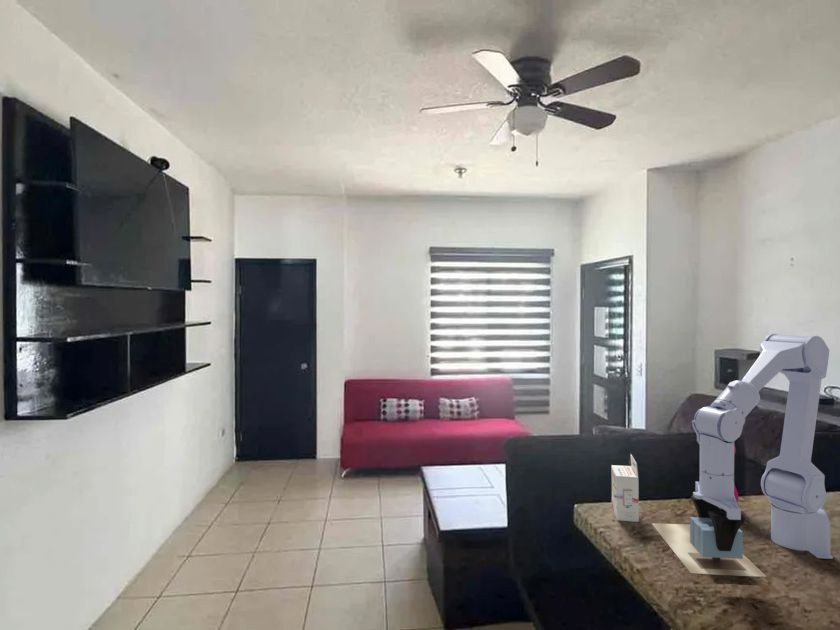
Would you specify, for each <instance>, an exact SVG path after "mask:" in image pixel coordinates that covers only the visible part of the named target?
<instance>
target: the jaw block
mask: <svg viewBox="0 0 840 630" xmlns="http://www.w3.org/2000/svg"><path fill="white" fill-rule="evenodd" d="M689 525H690V543H691V544H692V545H693V546H694V548H695V549H696V550H697V551H698V552H699V553H700V554H701V556H702V557H716V558H738V559H743V555H744V553H743V552H744V531H743V530H741V528H739V530H738V532H737V534H736V536H735V539H734V543H733V546H732V549H731V551H719V550H718V548H717V545H716V539H715V531H714V526H713V523H712V520H711V518H699V517H698V516H697V517H694V516H690V517H689Z"/></svg>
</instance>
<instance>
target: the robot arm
mask: <svg viewBox="0 0 840 630" xmlns="http://www.w3.org/2000/svg"><path fill="white" fill-rule="evenodd" d="M829 358H830V348H829V347H828V345H827V343H826V342H825V340H824V339H823V338H822V337H821V336H819V335H795V334H794V335H791V334H789V335H788V334H778V333H770V334H767V336H766V337H765V338H764V339H763V341H762V342H761V343H760V344H759V356H758V357H757V359H756V360H755V362H754V363H753V364H752V366H751V367H750V368H749V370H748V371H747V372H746V374H745V375H744V377H742V379H741V380H733V381H730V382H729V383H728V384H727V385H726V388H725V389H724V390H723V391H722V392H721V393H720V394H719V395H718V396H717V397H716V399H715V400H714V401H712V403H710V405H708V406H704V407H702V408H699V409H698V410H696V412H695V414H694V416H693V418H694V419H693V420H692V421H691V425H692V429H693V431H694V432H695V434H696V442H697V444H699V481H697V480H696V481H695V483H694V484H695V491H693V492H692V495H691V496H690V499H691V502H692V503H693V505H694V507H695V510H696V513H697V518H711V520H712V523H713V526H714V531H715V539H716V545H717V548H718V550H719V551H731V549H732V546H733V543H734V539H735V536H736V534H737V532H738V530H739V529H741V527H742V525H743V524H744V523H745V522H746V517H745V516H744V515H743V514H742V509H741V508H740V507H739V505H738V502H736V498H735V496H734V485H735V455H734V445H735V441H736V440H738V438H740V437H741V435H742V433H743V428H744V425H745V423H746V417H748V415H749V413H751V412H752V410H753V409H754V408H755V407H756V406H757V404H759V402H760V401H761V395H760V391H761V390H762V389H763V388H764V387H765V386H766V385H767V384H769V383H770V382H771V381H772V379H774V377H776V376H777V375H778V374H779V373H781V374H783V375H784V376H785V377H786V378H787V380H788V381H789V384H788V392H787V399H786V408H785V415H784V421H783V422H784V423H783V429H782V435H781V444H780V449H779V450H780V451H779V452H780V453H779V455H778V456H777V457H774V458H772V459H769V460H768V461H767V462H766V466H765V471H764V473H763V474H762V476H761V478H760V487H761V491H762V494H764V496H766V497H767V502H768V503H770V507H771V508H770V512H771V513H770V540H771V541H772V542H773V543H775V544H776V545H778V546H781V547H783V548H786V549H790V550H795V551H804V552H805V551H807V552H809V553H810V554H812V555H813V556H814V557H816V558H817V559H825V560H832V559H833V558H834V556H833V555H832V554H831V522H830V519H829V516H828V514H827V513H826V511H825V510H824V509H823V506H824V505H825V503H826V499H827V491H826V486H825V478H826V477H825V476H826V475H825V474H824V473H823V472H822V471H821V470H820V469H819V468H818V467H817V466H815V464H813V462H812V454H813V448H814V447H813V446H814V441H815V439H814V438H815V431H816V424H817V423H816V422H817V416H818V409H819V403H820V394H821V387H822V380H823V379H826V377H827V374H828V373H827V372H828V365H829ZM833 560H834V559H833Z"/></svg>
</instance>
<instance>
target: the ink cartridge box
mask: <svg viewBox="0 0 840 630" xmlns="http://www.w3.org/2000/svg"><path fill="white" fill-rule="evenodd" d="M630 464H631V465H619V464H618V465H617V464H616V465H615V464H614V465H613V464H611V468H610V469H611V471H610V472H611V508H612V511H613V512H614V517H615V518H616V520H617V521H622V522H625V521H626V522H637V523H638V522H640V520H639V519H640V511H639V507H640V505H639V504H640V503H639V501H640V499H639V498H640V497H639V493H640V491H639V489H640V488H639V485H640V484H639V471H638V470H639V469H638V463H637V462H636V460H635V458H634V456H633V455H632V453H630Z"/></svg>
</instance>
